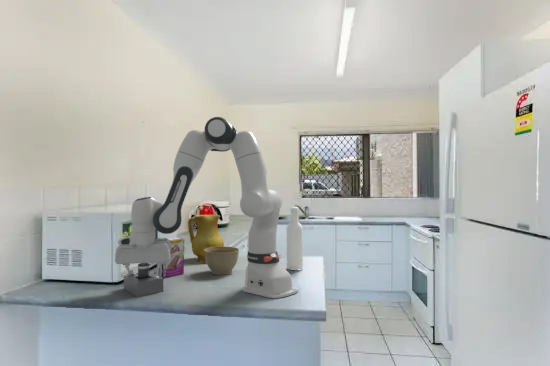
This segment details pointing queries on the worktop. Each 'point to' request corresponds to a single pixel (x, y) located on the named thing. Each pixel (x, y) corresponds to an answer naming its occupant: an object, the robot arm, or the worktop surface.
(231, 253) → the planter bowl
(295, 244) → the bottle
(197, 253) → the pitcher
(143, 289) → the block
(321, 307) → the worktop surface
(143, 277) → the lens
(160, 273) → the candy bar box
